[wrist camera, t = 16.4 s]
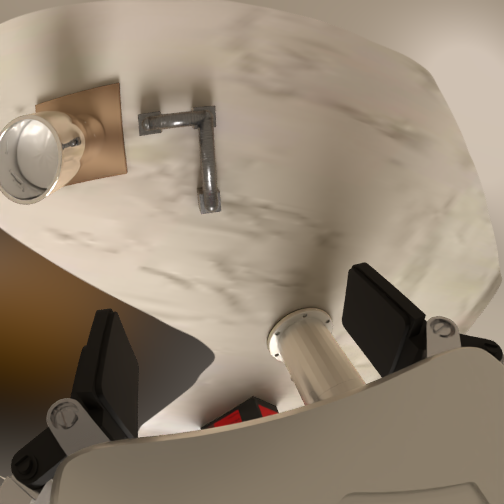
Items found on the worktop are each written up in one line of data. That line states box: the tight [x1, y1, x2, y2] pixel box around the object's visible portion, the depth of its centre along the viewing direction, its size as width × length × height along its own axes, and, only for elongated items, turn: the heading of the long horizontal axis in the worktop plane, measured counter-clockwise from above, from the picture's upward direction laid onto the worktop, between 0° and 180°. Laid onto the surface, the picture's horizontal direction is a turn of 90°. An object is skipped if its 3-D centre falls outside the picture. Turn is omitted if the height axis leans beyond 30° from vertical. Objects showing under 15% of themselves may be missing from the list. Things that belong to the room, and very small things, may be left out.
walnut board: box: [35, 83, 127, 186], centre depth 28 cm, size 11×11×1 cm
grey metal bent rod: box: [138, 106, 221, 214], centre depth 31 cm, size 12×8×4 cm
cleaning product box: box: [201, 396, 279, 430], centre depth 52 cm, size 16×9×20 cm, turn 129°
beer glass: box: [0, 111, 105, 205], centre depth 21 cm, size 7×7×15 cm
